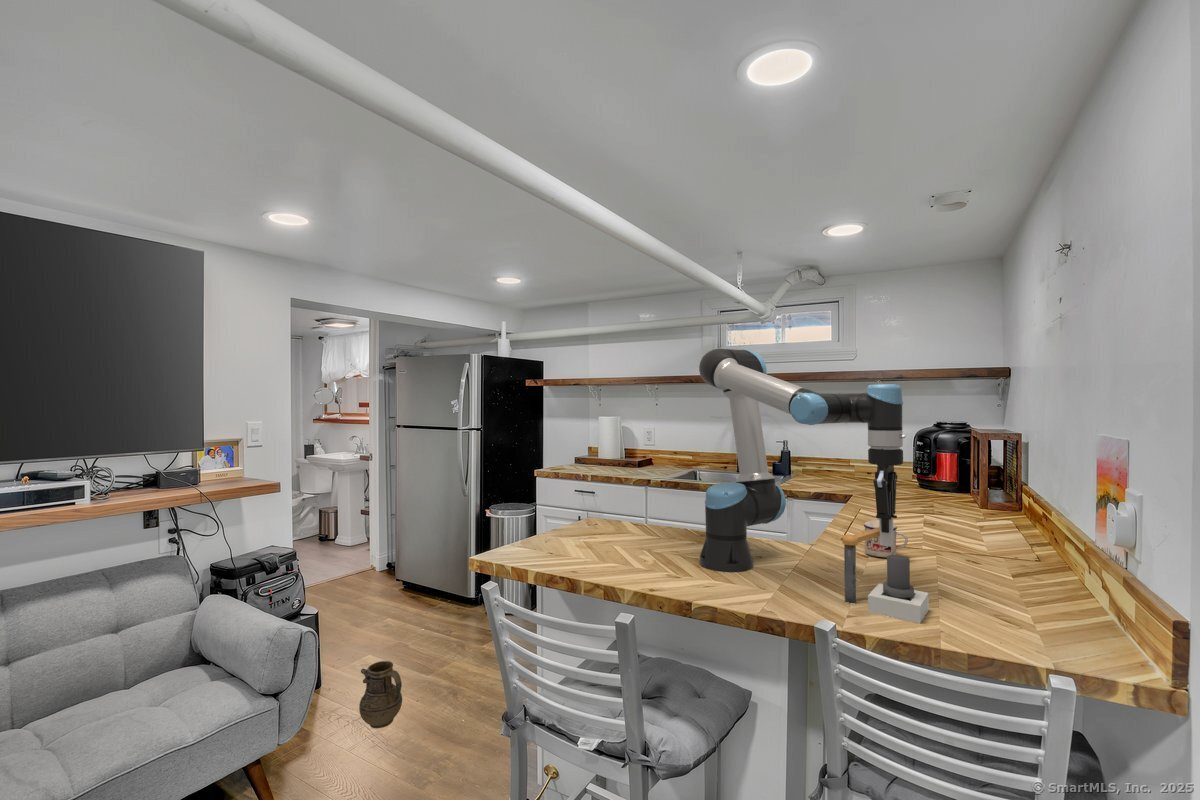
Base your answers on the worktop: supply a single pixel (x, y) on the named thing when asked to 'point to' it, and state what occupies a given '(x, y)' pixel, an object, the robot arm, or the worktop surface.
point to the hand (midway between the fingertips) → (886, 545)
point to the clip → (860, 536)
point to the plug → (898, 578)
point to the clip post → (850, 573)
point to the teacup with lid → (874, 544)
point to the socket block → (899, 605)
